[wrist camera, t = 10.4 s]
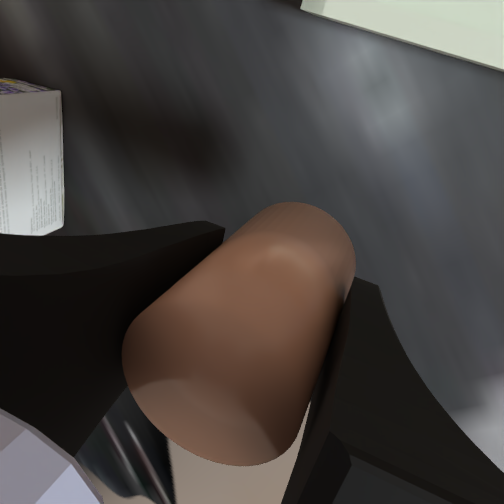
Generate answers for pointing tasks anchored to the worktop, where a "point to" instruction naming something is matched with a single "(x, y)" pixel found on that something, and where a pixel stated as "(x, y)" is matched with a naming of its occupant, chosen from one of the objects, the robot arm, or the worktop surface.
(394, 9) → the tray
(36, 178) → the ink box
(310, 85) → the worktop surface
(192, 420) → the terracotta cylinder
